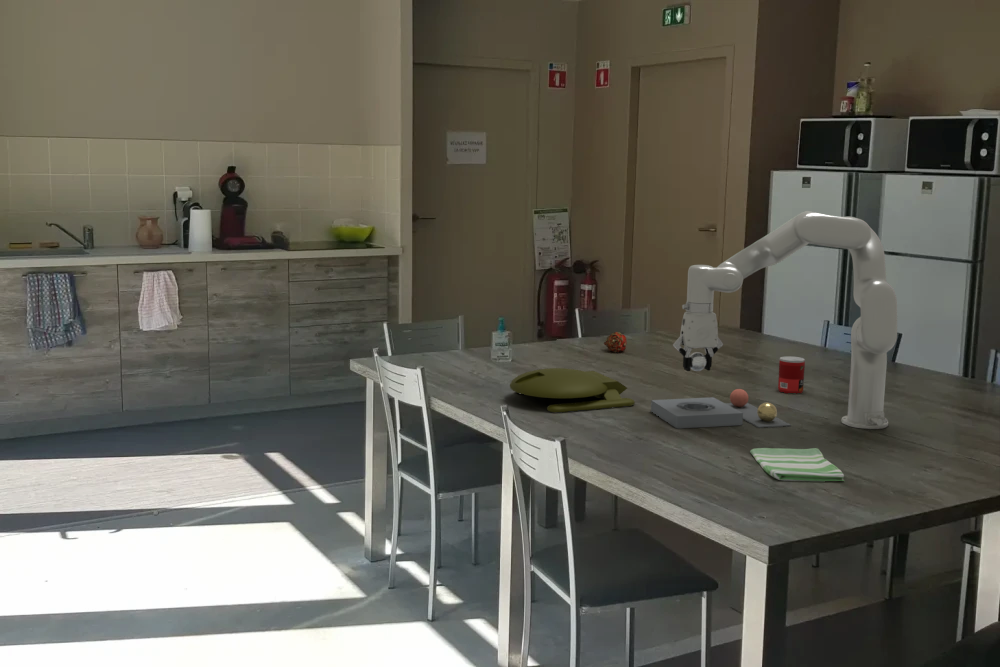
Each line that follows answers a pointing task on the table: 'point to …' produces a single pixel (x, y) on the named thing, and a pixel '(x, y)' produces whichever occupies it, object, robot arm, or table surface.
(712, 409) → the board
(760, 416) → the brass ball
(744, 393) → the rubber ball
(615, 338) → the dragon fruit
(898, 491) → the table surface
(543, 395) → the spaceship
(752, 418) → the mat
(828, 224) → the robot arm
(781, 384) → the canned food
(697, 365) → the steel ball
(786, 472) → the dish towel
